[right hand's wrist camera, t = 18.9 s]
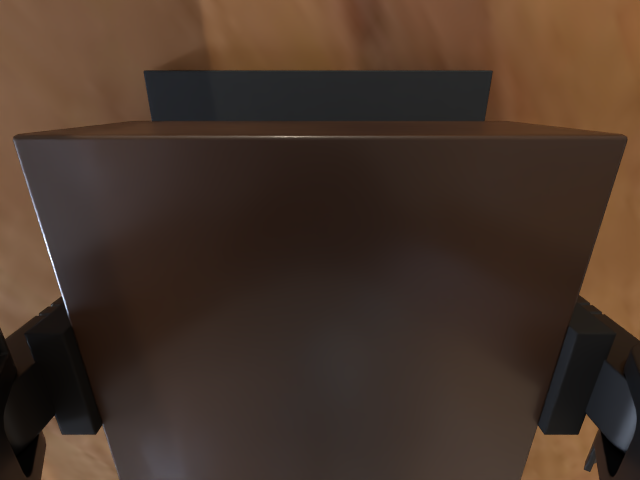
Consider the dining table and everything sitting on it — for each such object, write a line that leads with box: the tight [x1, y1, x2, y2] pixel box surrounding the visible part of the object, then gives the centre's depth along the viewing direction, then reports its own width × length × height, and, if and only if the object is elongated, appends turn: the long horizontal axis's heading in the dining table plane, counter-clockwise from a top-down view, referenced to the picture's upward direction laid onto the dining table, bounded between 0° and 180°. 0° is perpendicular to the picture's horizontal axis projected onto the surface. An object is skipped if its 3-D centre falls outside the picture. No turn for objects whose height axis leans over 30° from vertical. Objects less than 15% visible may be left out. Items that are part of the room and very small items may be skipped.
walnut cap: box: [13, 121, 627, 480], centre depth 9 cm, size 10×10×4 cm
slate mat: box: [144, 71, 493, 121], centre depth 16 cm, size 13×13×1 cm
